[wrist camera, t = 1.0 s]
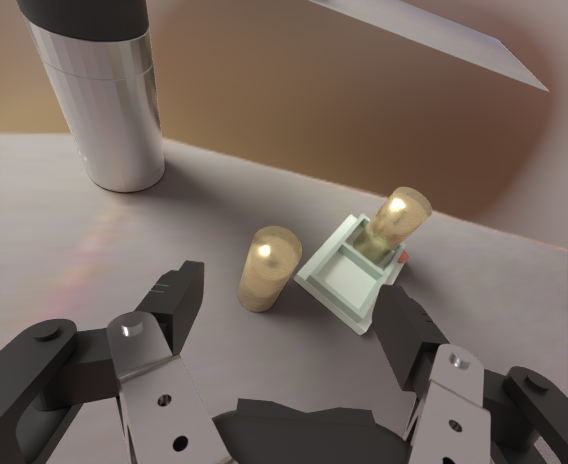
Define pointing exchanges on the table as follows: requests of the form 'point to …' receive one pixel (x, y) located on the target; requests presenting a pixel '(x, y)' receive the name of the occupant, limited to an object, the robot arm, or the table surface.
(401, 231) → the seated billet
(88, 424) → the table surface
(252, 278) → the billet
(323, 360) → the table surface
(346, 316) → the pale green divided tray
